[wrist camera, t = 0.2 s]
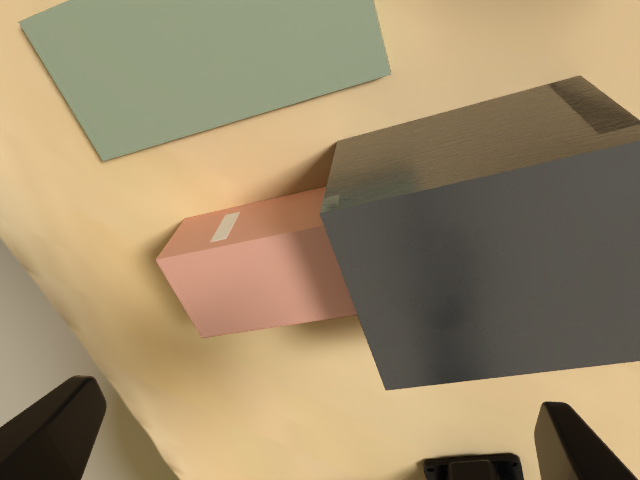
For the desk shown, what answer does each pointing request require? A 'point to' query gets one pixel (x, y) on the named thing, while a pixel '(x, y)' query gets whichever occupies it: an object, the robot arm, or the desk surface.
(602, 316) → the dispenser
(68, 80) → the green block
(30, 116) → the desk surface
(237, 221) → the pink block
